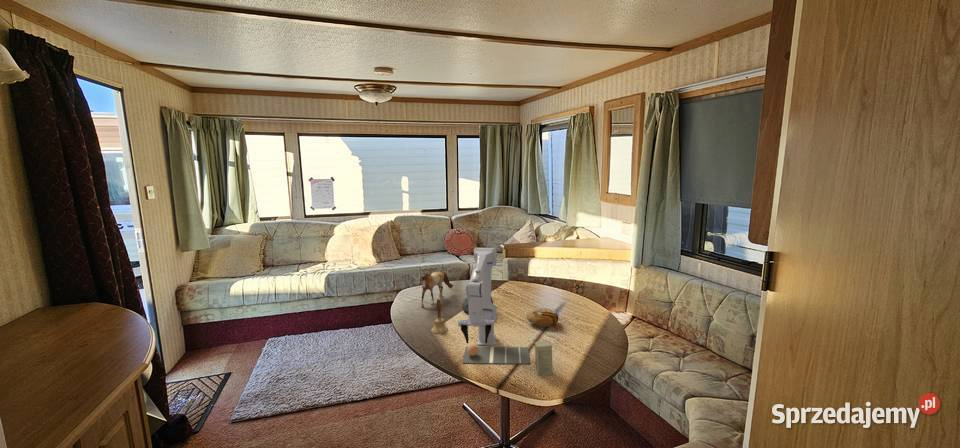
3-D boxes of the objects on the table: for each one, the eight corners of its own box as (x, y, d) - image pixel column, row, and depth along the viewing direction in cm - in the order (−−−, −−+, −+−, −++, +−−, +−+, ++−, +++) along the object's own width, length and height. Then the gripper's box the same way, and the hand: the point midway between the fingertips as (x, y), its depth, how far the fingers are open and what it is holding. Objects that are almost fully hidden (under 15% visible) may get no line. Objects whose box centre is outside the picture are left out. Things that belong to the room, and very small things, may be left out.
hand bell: (429, 328, 197) (428, 298, 194) (445, 325, 200) (444, 295, 197) (433, 335, 189) (432, 303, 187) (450, 331, 192) (448, 301, 190)
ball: (467, 352, 170) (467, 342, 169) (479, 352, 170) (478, 342, 169) (466, 358, 165) (466, 347, 164) (478, 358, 165) (478, 347, 164)
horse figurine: (425, 311, 219) (423, 276, 216) (414, 309, 223) (412, 274, 219) (454, 293, 246) (453, 262, 243) (444, 292, 250) (442, 261, 247)
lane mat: (465, 347, 176) (465, 346, 176) (528, 347, 174) (528, 346, 174) (462, 363, 162) (462, 362, 162) (530, 364, 160) (530, 363, 160)
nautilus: (572, 331, 190) (547, 340, 183) (544, 314, 208) (521, 322, 201) (572, 316, 188) (547, 325, 181) (544, 300, 206) (521, 307, 199)
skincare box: (550, 369, 156) (550, 340, 154) (552, 375, 152) (553, 345, 150) (534, 369, 156) (534, 341, 154) (536, 375, 151) (536, 346, 149)
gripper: (456, 314, 154) (458, 346, 156) (493, 314, 153) (494, 346, 155) (458, 307, 161) (460, 338, 163) (493, 307, 160) (494, 338, 162)
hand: (476, 342), depth 159 cm, fingers open, 7 cm apart
